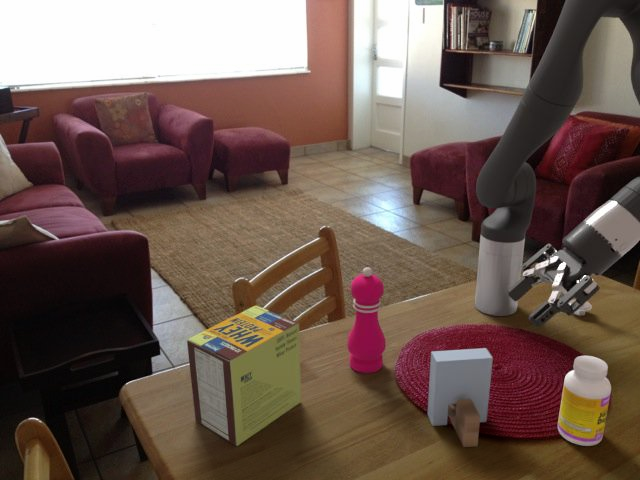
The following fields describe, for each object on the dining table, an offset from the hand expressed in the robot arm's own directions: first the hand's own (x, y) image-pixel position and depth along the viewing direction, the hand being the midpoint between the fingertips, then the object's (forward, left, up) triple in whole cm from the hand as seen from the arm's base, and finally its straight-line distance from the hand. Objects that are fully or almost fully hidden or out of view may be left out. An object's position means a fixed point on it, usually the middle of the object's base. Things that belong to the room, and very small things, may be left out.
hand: (521, 309), depth 94 cm
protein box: (-6, -43, -20) cm, 48 cm away
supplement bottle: (+6, +9, -20) cm, 22 cm away
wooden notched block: (-1, -9, -19) cm, 21 cm away
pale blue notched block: (0, -9, -19) cm, 21 cm away
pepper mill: (-18, -21, -20) cm, 34 cm away
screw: (-33, +29, -20) cm, 48 cm away
